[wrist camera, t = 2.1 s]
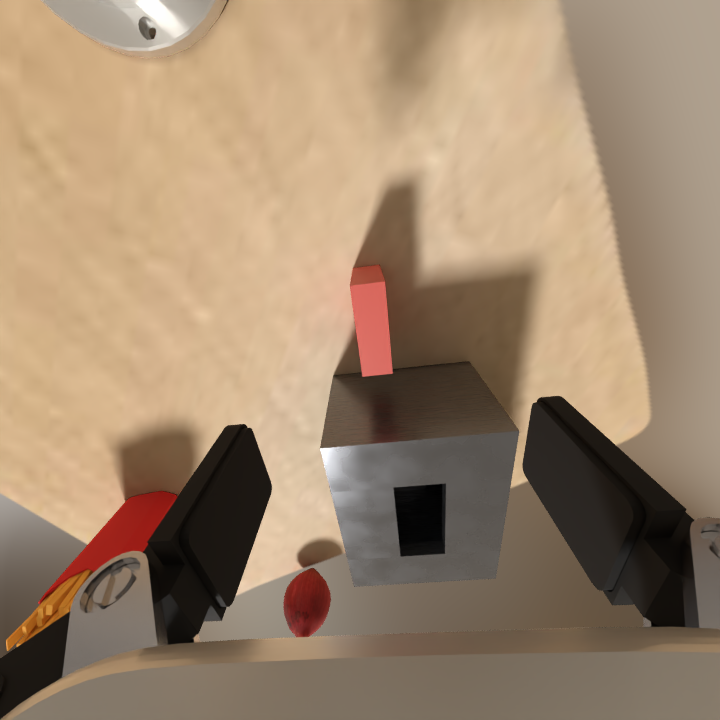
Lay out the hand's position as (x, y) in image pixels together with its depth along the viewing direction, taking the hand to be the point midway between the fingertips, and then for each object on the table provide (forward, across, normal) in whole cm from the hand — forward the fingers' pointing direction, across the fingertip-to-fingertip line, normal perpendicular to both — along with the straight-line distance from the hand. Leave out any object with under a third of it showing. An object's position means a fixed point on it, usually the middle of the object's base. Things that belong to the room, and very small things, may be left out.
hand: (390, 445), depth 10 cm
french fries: (+15, +28, +20) cm, 38 cm away
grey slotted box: (+15, -2, +13) cm, 20 cm away
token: (+15, 0, -1) cm, 15 cm away
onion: (+16, +12, +35) cm, 40 cm away
